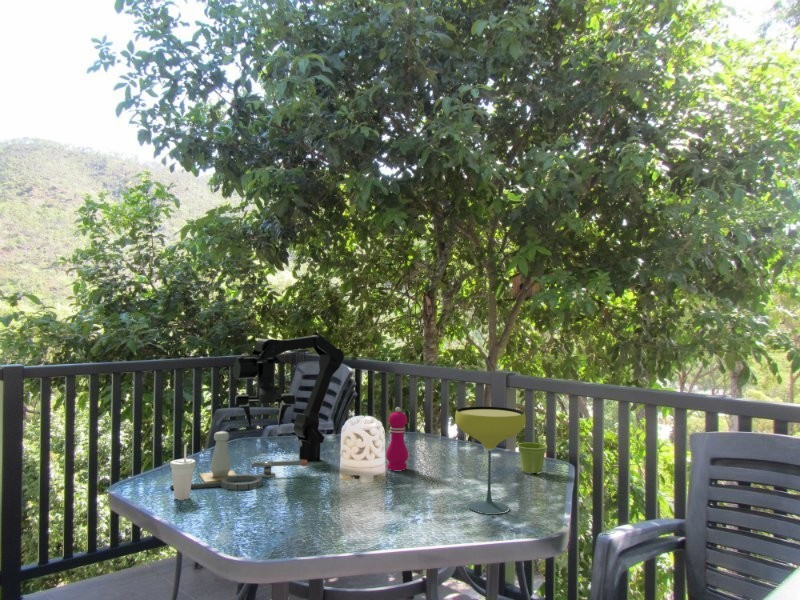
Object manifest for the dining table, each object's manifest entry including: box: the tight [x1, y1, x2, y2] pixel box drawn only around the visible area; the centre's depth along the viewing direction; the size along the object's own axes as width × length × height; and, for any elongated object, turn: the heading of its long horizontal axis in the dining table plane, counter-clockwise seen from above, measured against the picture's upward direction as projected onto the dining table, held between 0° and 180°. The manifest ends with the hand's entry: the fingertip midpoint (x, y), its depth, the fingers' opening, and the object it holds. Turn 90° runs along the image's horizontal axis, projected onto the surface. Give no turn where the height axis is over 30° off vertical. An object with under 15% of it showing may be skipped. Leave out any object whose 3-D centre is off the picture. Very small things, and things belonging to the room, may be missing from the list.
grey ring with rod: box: [169, 473, 263, 491], centre depth 178 cm, size 25×11×2 cm, turn 107°
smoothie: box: [169, 444, 196, 501], centre depth 166 cm, size 6×6×14 cm
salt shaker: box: [209, 430, 231, 477], centre depth 187 cm, size 6×6×13 cm
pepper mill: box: [385, 406, 409, 470], centre depth 202 cm, size 7×7×20 cm
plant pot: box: [516, 442, 548, 473], centre depth 200 cm, size 9×9×9 cm
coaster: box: [198, 469, 238, 483], centre depth 187 cm, size 10×10×1 cm
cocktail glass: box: [454, 406, 527, 513], centre depth 162 cm, size 18×18×25 cm
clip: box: [251, 459, 308, 469], centre depth 191 cm, size 17×3×2 cm, turn 103°
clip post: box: [258, 467, 276, 479], centre depth 190 cm, size 5×5×3 cm
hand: (264, 426), depth 202 cm, fingers open, 9 cm apart
